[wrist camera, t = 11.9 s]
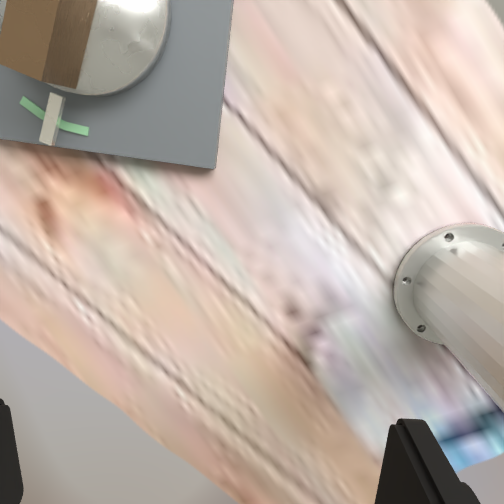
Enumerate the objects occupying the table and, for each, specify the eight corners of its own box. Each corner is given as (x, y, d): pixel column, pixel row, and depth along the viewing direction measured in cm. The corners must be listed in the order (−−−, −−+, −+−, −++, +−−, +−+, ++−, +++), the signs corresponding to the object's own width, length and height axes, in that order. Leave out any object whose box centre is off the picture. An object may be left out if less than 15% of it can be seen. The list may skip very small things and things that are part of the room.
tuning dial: (22, -131, 27) (-54, -215, 21) (194, -49, 29) (175, -104, 22) (-21, 112, 32) (-94, 107, 26) (127, 172, 34) (95, 182, 27)
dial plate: (247, -132, 29) (247, -148, 27) (215, 167, 35) (213, 169, 34) (-53, -182, 28) (-72, -201, 26) (-28, 132, 35) (-42, 133, 33)
